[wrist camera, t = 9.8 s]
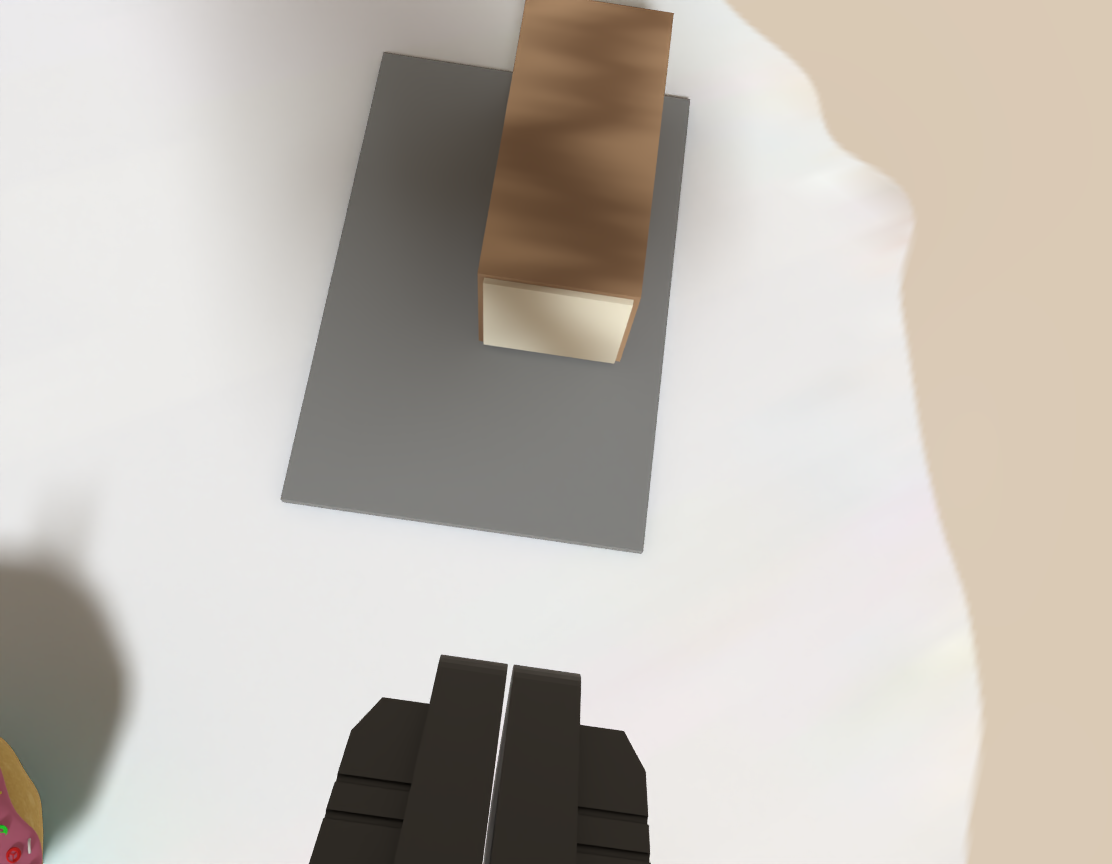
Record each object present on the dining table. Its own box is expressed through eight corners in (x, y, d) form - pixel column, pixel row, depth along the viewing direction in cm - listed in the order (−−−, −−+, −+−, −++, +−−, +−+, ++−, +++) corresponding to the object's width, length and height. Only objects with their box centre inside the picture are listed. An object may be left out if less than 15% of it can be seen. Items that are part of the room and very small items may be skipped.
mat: (282, 502, 33) (280, 498, 32) (384, 59, 38) (383, 52, 38) (641, 553, 33) (643, 551, 32) (687, 106, 39) (689, 99, 38)
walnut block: (476, 279, 30) (527, -10, 33) (477, 345, 34) (522, 86, 38) (640, 303, 30) (673, 13, 33) (619, 366, 34) (650, 106, 38)
